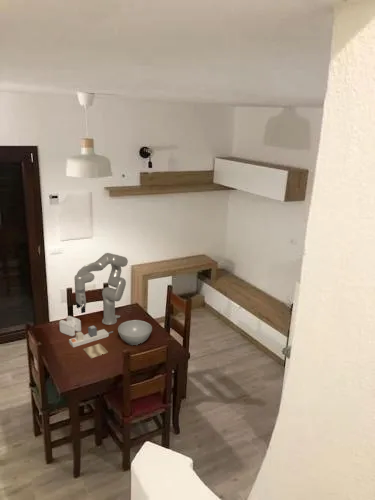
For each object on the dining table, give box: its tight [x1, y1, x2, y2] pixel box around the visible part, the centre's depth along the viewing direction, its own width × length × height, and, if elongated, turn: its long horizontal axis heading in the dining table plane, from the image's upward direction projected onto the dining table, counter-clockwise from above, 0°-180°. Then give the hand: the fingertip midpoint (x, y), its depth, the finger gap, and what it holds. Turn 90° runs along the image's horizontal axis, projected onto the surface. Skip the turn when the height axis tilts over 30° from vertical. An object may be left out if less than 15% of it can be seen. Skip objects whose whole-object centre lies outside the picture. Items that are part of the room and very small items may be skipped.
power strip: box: [68, 328, 114, 348], centre depth 325 cm, size 36×8×8 cm, turn 127°
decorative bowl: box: [117, 319, 153, 346], centre depth 324 cm, size 27×27×12 cm
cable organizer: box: [58, 315, 82, 337], centre depth 332 cm, size 15×11×12 cm
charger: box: [87, 325, 98, 337], centre depth 325 cm, size 5×5×8 cm
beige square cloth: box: [82, 343, 109, 359], centre depth 310 cm, size 14×14×1 cm
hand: (81, 310), depth 319 cm, fingers open, 9 cm apart
